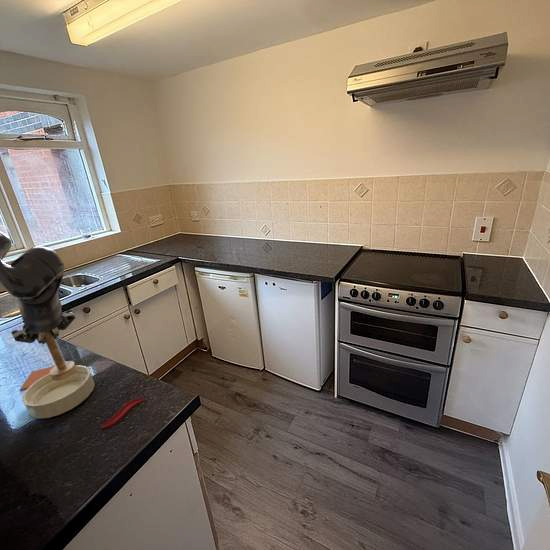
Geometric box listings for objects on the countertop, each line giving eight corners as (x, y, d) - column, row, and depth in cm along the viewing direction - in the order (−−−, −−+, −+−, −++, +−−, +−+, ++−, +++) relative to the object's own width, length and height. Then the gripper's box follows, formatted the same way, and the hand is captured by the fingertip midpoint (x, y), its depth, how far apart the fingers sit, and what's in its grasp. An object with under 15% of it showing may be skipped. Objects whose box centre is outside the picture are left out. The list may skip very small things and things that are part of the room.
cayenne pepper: (143, 395, 84) (142, 390, 83) (149, 404, 81) (147, 399, 80) (97, 420, 77) (94, 415, 76) (101, 431, 74) (98, 425, 73)
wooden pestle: (48, 383, 81) (26, 336, 76) (56, 370, 86) (36, 325, 81) (73, 376, 83) (53, 330, 77) (79, 364, 88) (60, 319, 83)
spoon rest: (20, 390, 91) (19, 389, 91) (32, 372, 100) (31, 371, 99) (53, 382, 94) (53, 380, 94) (62, 365, 102) (62, 363, 102)
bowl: (18, 428, 77) (10, 413, 76) (42, 387, 92) (36, 374, 90) (88, 408, 82) (81, 394, 80) (100, 372, 96) (95, 359, 94)
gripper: (67, 287, 75) (70, 316, 87) (-3, 309, 66) (10, 339, 78) (81, 310, 74) (82, 337, 86) (11, 337, 64) (23, 363, 77)
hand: (48, 338), depth 82 cm, fingers closed on wooden pestle
